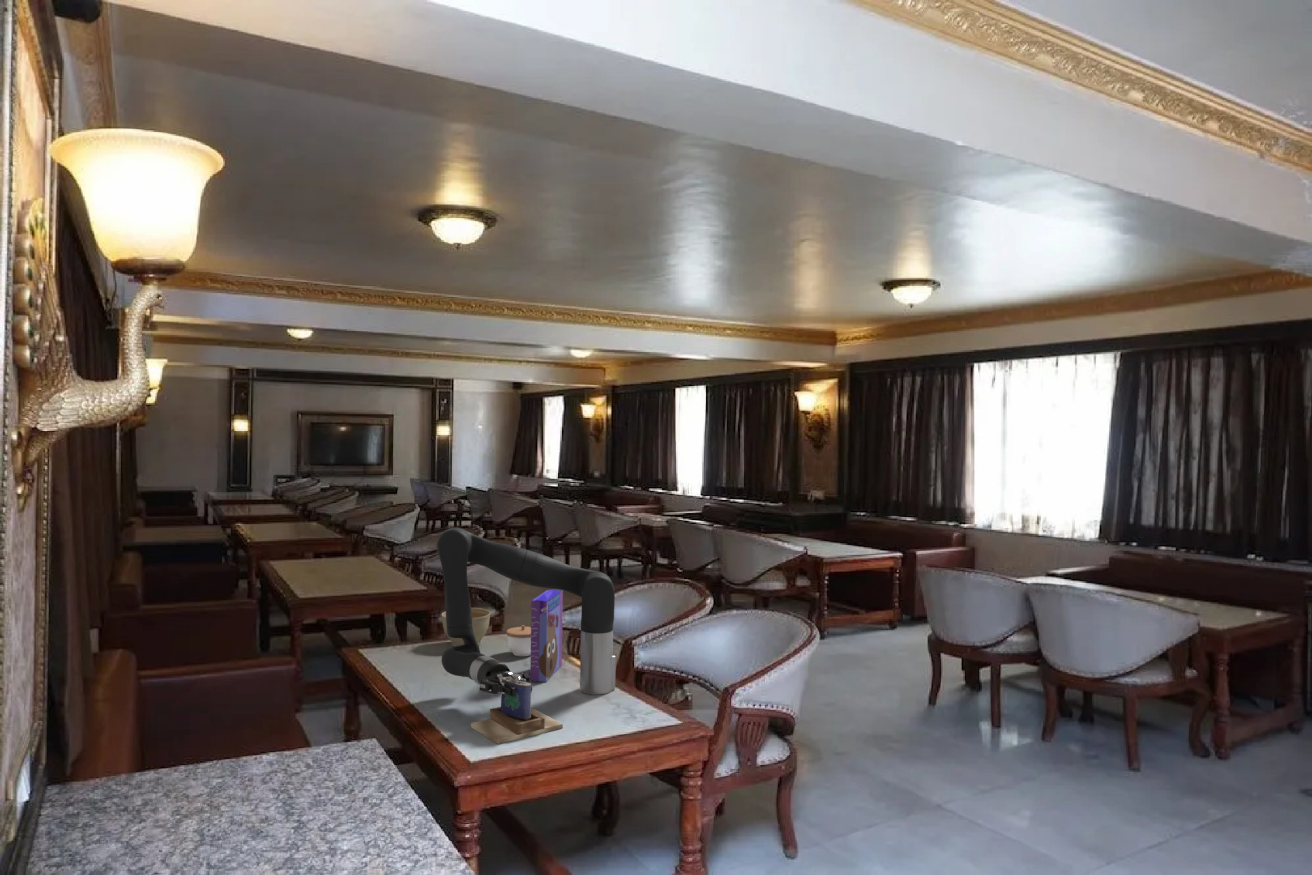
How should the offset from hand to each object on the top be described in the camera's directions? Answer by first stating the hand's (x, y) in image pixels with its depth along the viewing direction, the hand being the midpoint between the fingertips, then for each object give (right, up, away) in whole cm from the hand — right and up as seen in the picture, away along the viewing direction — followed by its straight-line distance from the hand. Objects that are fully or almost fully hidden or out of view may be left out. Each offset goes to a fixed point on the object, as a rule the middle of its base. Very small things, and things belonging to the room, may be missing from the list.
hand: (522, 690), depth 211 cm
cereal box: (0, -9, +48) cm, 49 cm away
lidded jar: (-11, -9, +69) cm, 71 cm away
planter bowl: (-32, -8, +80) cm, 86 cm away
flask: (-2, -7, +2) cm, 8 cm away
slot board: (-2, -10, +2) cm, 10 cm away
